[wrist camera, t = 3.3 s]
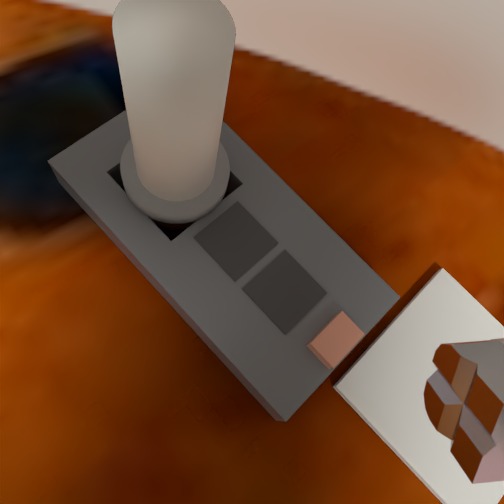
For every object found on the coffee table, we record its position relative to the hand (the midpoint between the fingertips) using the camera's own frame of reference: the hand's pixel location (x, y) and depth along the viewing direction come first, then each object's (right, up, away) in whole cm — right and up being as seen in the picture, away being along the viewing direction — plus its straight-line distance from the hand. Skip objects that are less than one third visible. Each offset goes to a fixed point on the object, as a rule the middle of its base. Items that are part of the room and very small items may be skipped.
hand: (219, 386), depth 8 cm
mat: (+12, -6, +18) cm, 22 cm away
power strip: (-1, +3, +19) cm, 19 cm away
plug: (-4, +6, +19) cm, 20 cm away
